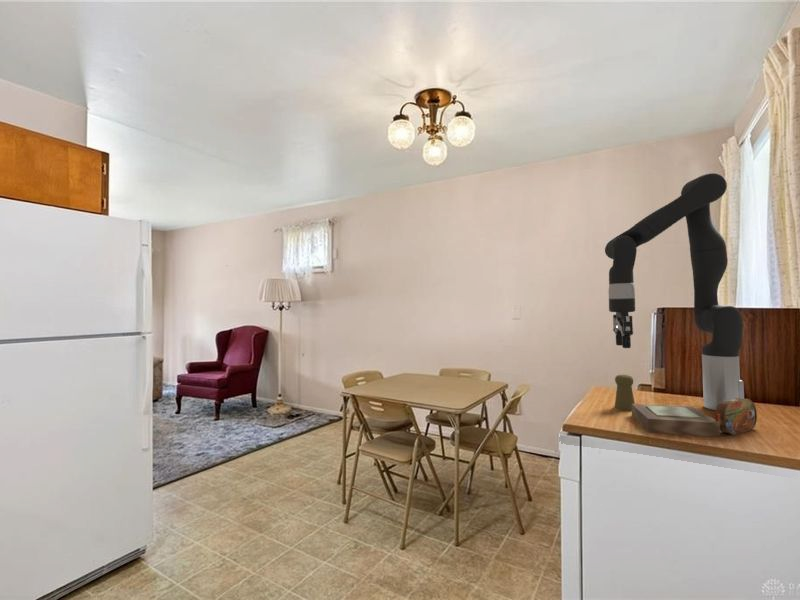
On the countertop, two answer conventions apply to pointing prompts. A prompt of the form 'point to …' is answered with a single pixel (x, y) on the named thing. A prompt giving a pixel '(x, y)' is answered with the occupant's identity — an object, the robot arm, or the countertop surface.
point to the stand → (675, 420)
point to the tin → (736, 415)
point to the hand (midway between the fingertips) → (623, 346)
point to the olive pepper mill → (624, 393)
